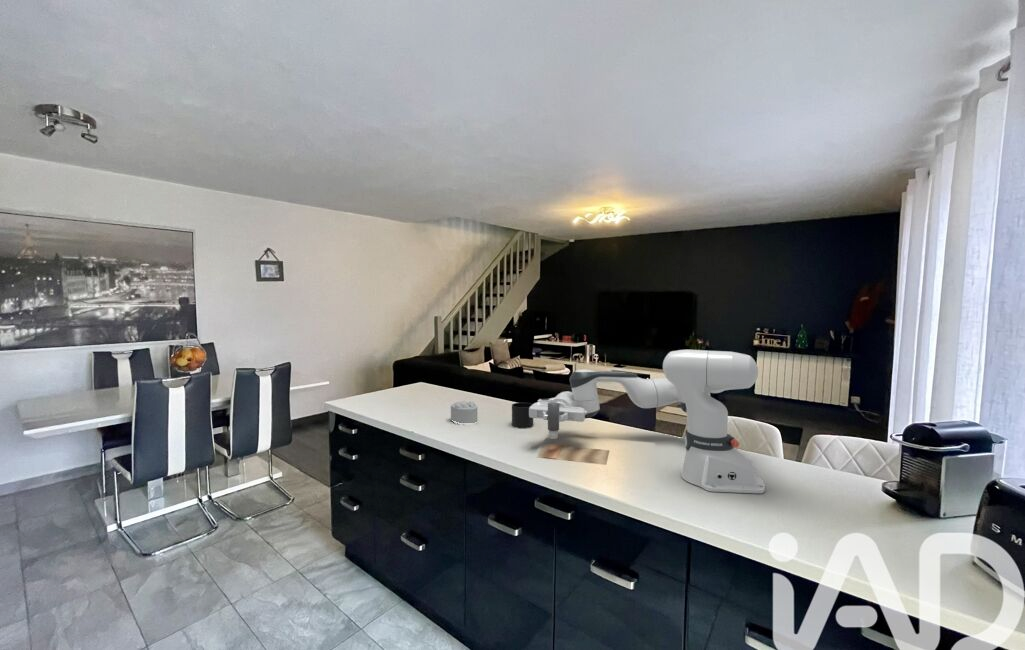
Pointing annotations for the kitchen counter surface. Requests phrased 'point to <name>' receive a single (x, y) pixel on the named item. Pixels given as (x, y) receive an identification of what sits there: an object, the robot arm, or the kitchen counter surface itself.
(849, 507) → the kitchen counter surface
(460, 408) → the lumpy-topped squat cylinder
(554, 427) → the round-topped grey cylinder
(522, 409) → the mug
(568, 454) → the board
